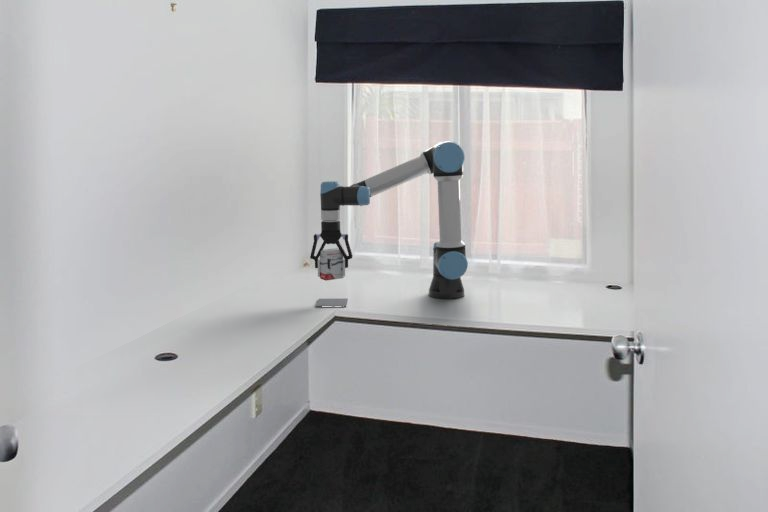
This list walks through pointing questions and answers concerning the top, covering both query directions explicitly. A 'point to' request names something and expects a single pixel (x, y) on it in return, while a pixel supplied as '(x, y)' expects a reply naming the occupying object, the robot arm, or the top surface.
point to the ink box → (331, 264)
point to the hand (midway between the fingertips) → (331, 275)
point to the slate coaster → (332, 302)
